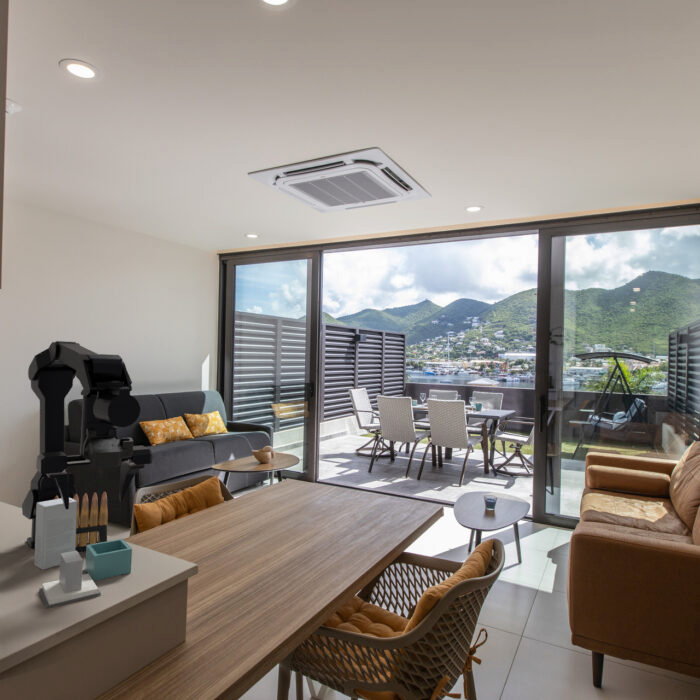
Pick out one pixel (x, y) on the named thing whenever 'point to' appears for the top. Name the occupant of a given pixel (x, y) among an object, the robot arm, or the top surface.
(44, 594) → the mat
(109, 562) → the teal open box
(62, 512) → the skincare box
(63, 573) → the lid
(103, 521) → the ammunition clip
